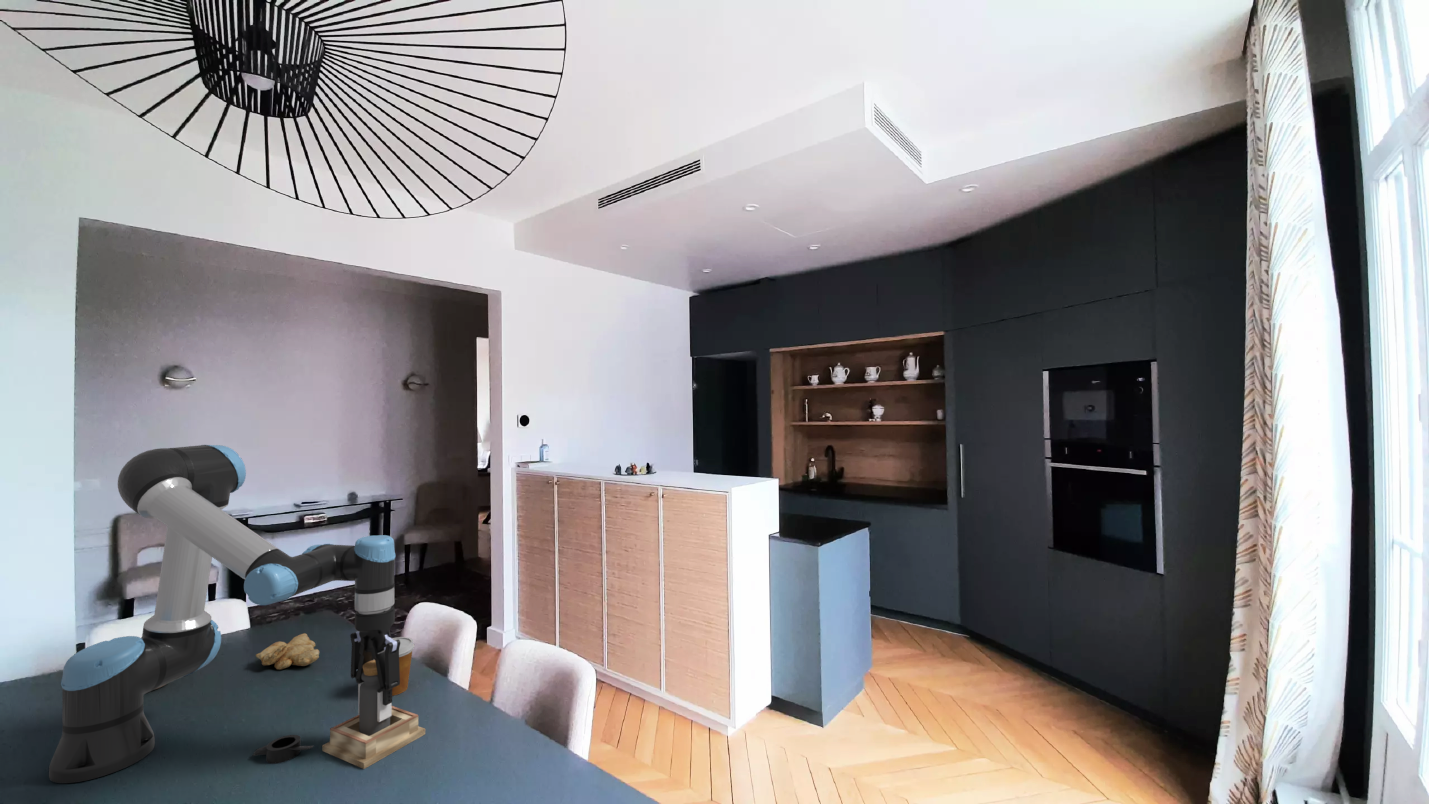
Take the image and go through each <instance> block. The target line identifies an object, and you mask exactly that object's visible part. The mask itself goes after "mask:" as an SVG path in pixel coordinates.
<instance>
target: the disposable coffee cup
mask: <svg viewBox="0 0 1429 804" xmlns="http://www.w3.org/2000/svg"><path fill="white" fill-rule="evenodd" d="M391 638H392V639H393V640H394V641H395V640H398V639H399V640H400V648H399V669H400V685H398V686H396V687H394V688H392V697H394V696H398V695H400V694H402V693H404V692H406V691H407V690H408V686H409V678H410V672H411V666H412V665H411V663H412V659H413V658H412V656H413V651H414V649H415V643H414V641H413V639H412V638H410V637H406V636H404V637H403V636H398V637H391ZM384 651H385V650H384ZM384 651H382V652H384ZM382 652H379V653H382ZM379 653H378V654H379Z"/></svg>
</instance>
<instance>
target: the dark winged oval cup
mask: <svg viewBox="0 0 1429 804" xmlns="http://www.w3.org/2000/svg"><path fill="white" fill-rule="evenodd" d="M301 739H302V738H301V736H300V735H299V734H298V735H297V734H289V735H283V736H281V737H277V738H275V739H273V740H271V741H270V742H268V743H267V745H264V746H262V747H259V748H257V749H256V750H254V752H253V754H251V757H255V756H261V755H262V756H265V755H266V757H265V761H266V762H267V764H272V765H273V764H274V765H275V764H281V763H286V762H289V761H291V760H293V759H294V758H296V757H297V756H299V754H300V753H301V751H304V750H311V749H313V748H314V747H315V745H301V741H302V740H301Z"/></svg>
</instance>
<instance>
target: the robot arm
mask: <svg viewBox="0 0 1429 804" xmlns="http://www.w3.org/2000/svg"><path fill="white" fill-rule="evenodd" d="M246 476H247V469H246V464H245V463H244V461H243V459H242V457H240V455H239V454H238V453H237V452H236V451H235V450H234V449H233V448H230V447H229V446H226V445H218V444H216V445H215V444H201V445H200V444H199V445H190V446H178V447H168V448H166V447H163V448H161V447H160V448H154V449H150V450H146V451H145V450H144V452H143V451H142V452H140V453H138V454H137V455H135V456H133V457H132V458H131V459H130V460H128V461H127V462H126V463H125V465H123V467H122V468H121V470H120V472H119V475H118V477H117V488H118V493H119V495H120V497H121V499H122V500H123V502H124V503H125V504H126V505H127V506H128V507H129V508H130V509H132V510H133V511H134V512H135V513H136V514H138V515H140V516H141V517H142V518H145V519H156V520H158V521H159V522H160V523H162V524H164V525H165V526H166V533H165V540H164V547H163V554H162V559H161V569H160V575H159V581H158V587H157V594H156V603H155V608H154V613H153V615H151V617H149V618H148V619H146V621H144V623H143V627H142V634H141V637H140V636H137V635H136V636H135V635H128V636H119V637H115V638H112V639H110V640H104V641H100V642H97V643H95V644H91V645H90V646H87V647H85V648H82V649H81V650H79V651H77V652H76V653H74V654H73V655H71V656H70V657H69V659H67V660H66V662H65V664H64V665H63V669H62V678H61V680H60V686H61V688H62V689H61V691H62V692H61V693H62V696H61V697H62V701H61V702H62V703H61V704H62V709H61V711H62V714H61V716H62V718H61V720H62V730H61V731H62V732H61V737H60V739H59V742H58V744H57V746H56V749H55V751H54V753H53V756H52V758H51V761H50V763H49V767H48V771H49V772H48V779H49V780H50V781H51V782H53V783H56V784H57V783H58V784H72V783H74V784H75V783H79V782H85V781H89V780H94V779H98V778H101V777H104V776H107V775H110V774H114V773H115V772H118V771H119V772H120V770H123V769H125V768H127V767H128V768H129V766H132V765H134V764H136V763H139V761H141V760H143V759H144V758H146V757H147V756H148V755H149V754H150V753H151V752H152V751H154V748H155V747H156V746H155V741H156V740H155V738H156V737H155V733H154V731H153V729H152V726H151V725H150V723H149V721H148V719H147V717H146V715H145V713H144V695H145V694H147V693H150V692H152V691H154V690H157V689H160V688H162V687H164V686H166V685H167V684H169V683H172V682H174V681H176V680H178V679H181V678H184V677H187V676H191V675H192V674H194V673H195V672H197V671H198V670H200V669H202V668H205V666H207V665H209V664H210V663H211V662H212V661H213V660H214V659H215V657H216V656H217V654H218V652H219V650H220V648H221V645H222V644H221V643H222V633H221V630H218V629H219V626H218V624H217V622H216V621H214V620H213V619H212V615H211V614H210V612H209V613H208V612H207V611H206V610H205V609H206V607H205V606H206V600H207V594H208V588H209V581H210V574H211V566H212V561H213V560H212V559H214V560H215V561H217V562H218V563H220V564H221V565H223V566H224V567H226V568H227V569H229V570H230V571H232V572H233V573H234V574H235V575H237V576H239V577H240V578H242V579H243V580H244V583H243V590H244V593H245V594H246V595H247V596H248V600H249V601H250V602H252V603H253V604H254V605H258V606H268V605H271V604H275V603H276V604H277V603H279V602H283V601H286V600H288V599H290V598H292V597H295V596H297V595H300V594H301V593H305V592H307V591H310V590H312V589H316V588H317V587H321V586H323V585H326V584H329V583H330V582H331V583H332V582H335V581H336V582H337V581H338V582H339V581H340V582H341V581H343V582H354V610H355V611H356V612H355V613H354V630H356V631H354V632H352V633H350V635H349V636H350V643H351V653H350V654H351V656H350V678H351V679H355V682H356V683H357V697H358V699H357V702H358V706H357V708H358V710H357V711H358V713H357V715H359V689H360V686H361V684H362V683H364V682H365V681H363V680H362V679H361V675H362V673H363V672H364V671H363V665H364V664H365V663H367V662H369V661H372V660H375V662H376V667H377V673H378V679H379V684H380V689H379V690H377V721H378V722H381V721H382V720H384V719H386V718H388V717H390V716H392V706H393V704H392V703H393V696H392V688H394V687H396V686H398V685H400V669H399V648H400V640H399V639H398V640H395V641H394V640H393V639H392V638H393V637H392V635H391V634H392V633H391V631H390V630H391V627H392V626H393V625H394V624H395V622H396V619H395V618H396V617H395V616H396V613H395V612H396V609H395V567H396V566H395V564H396V552H395V539H394V538H393V537H392V536H390V535H386V534H384V535H383V534H379V535H367V536H363V537H360V538H357V540H356V541H355V544H354V545H349V544H345V545H344V544H334V543H323V544H314V545H313V544H312V545H310V546H309V547H307V548H306V550H305V551H303V552H302V553H301V554H299V555H295V556H290V555H289V554H288V553H286V552H284V551H282V550H281V549H280V548H278V547H276V545H274V544H272V543H271V542H269V541H268V540H267V539H265V538H263V537H262V536H260V535H259V534H258V533H257V532H255V531H253V530H252V529H250V528H249V527H247V526H246V525H244V524H243V522H242V523H241V522H240V521H239V520H237V519H236V518H235V517H233V516H231V515H230V514H228V513H227V512H226V511H224V510H223V509H225V508H226V507H228V506H229V501H230V495H231V494H232V493H235V492H236V491H238V490H239V489H240V488H241V487H243V485H244V484H245V481H246ZM384 650H385V651H384ZM382 651H384V652H382ZM379 652H382V653H379ZM378 653H379V654H378ZM385 683H386V684H385ZM165 684H166V685H165ZM163 685H164V686H163ZM161 686H162V687H161ZM159 687H160V688H159Z"/></svg>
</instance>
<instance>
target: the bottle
mask: <svg viewBox="0 0 1429 804" xmlns="http://www.w3.org/2000/svg"><path fill="white" fill-rule="evenodd" d="M363 671H364V672H363V673H362V675H361V679H362V680H363V681H365V682H364V683H362V684H361V686H360V689H359V714H358V715H359V732H360V733H362V734H365V735H367V736H371V735H373V734H375V733H376V732H378V731H380V730H382V729H384V728H386V727H388V726H390V717H388V718H386V719H384V720H382V721H381V722H378V721H377V690H379V689H380V684H379V679H378V673H377V667H376V662H375V659H373V660H372V661H369V662H367V663H365V664H364V665H363ZM385 684H386V683H385Z"/></svg>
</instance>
